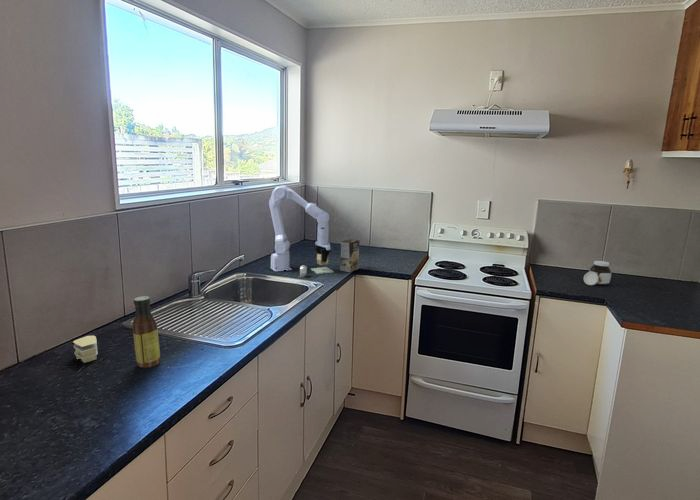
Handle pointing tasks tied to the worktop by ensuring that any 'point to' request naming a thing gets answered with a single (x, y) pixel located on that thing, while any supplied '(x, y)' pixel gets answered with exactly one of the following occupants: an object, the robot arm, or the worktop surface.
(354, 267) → the coffee box
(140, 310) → the sauce bottle
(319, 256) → the maple block
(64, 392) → the worktop surface
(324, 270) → the sage tile
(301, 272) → the clear glass cylinder
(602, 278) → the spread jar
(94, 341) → the cream layered block
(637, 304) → the worktop surface
